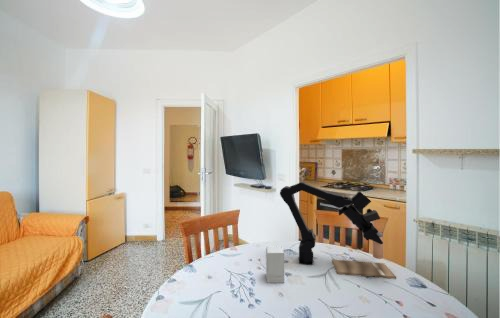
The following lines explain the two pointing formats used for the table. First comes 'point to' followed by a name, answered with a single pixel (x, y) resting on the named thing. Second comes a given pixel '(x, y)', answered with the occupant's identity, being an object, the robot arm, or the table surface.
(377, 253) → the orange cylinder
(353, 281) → the table surface
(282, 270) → the supplement box
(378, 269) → the board
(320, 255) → the table surface
